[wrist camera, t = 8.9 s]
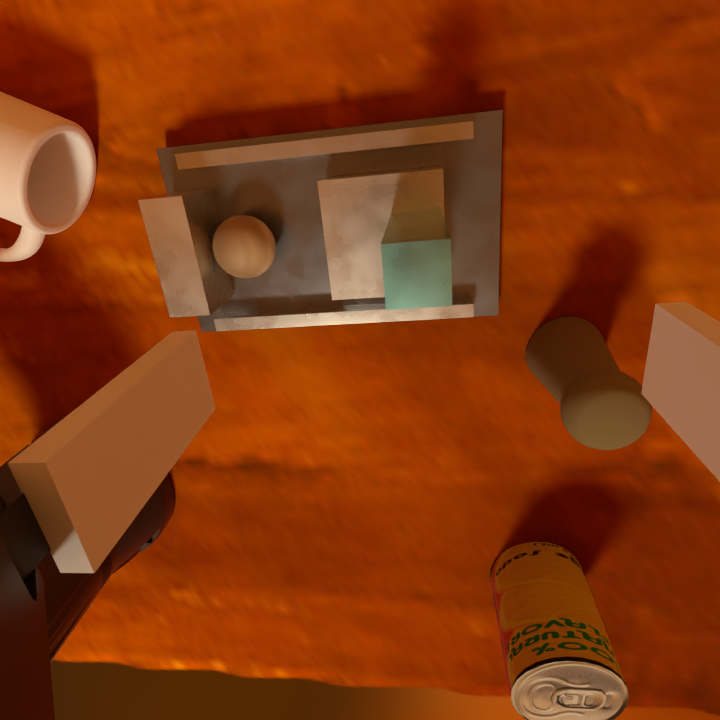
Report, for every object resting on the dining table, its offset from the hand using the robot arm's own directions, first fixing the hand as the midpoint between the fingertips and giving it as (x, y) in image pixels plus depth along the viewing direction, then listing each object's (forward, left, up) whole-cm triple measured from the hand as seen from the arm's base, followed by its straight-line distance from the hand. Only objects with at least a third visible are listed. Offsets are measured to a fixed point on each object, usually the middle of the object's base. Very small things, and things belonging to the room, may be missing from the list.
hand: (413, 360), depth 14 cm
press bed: (-6, 0, -24) cm, 25 cm away
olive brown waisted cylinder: (+11, -11, -25) cm, 29 cm away
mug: (-30, +6, -25) cm, 39 cm away
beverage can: (+10, -36, -25) cm, 45 cm away
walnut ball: (-12, 0, -21) cm, 24 cm away
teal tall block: (-2, 0, -22) cm, 23 cm away
